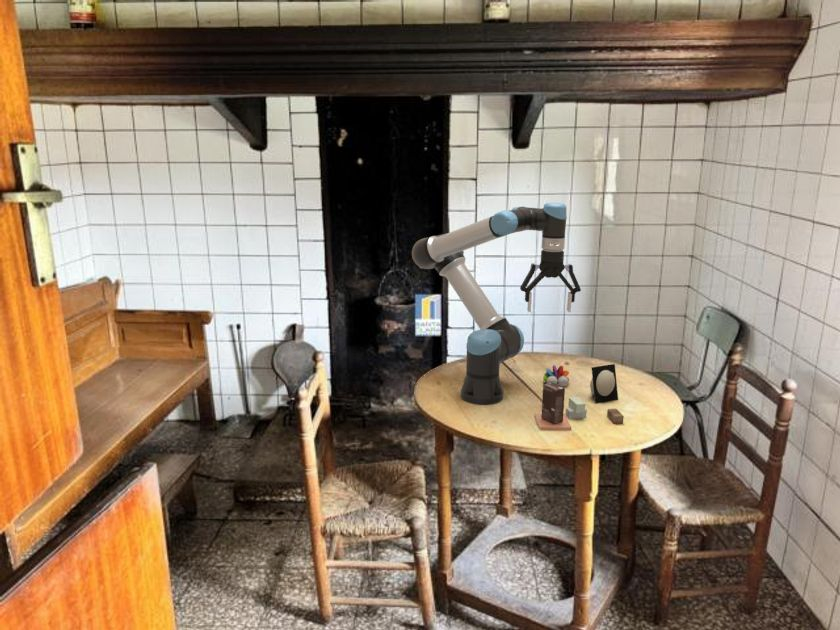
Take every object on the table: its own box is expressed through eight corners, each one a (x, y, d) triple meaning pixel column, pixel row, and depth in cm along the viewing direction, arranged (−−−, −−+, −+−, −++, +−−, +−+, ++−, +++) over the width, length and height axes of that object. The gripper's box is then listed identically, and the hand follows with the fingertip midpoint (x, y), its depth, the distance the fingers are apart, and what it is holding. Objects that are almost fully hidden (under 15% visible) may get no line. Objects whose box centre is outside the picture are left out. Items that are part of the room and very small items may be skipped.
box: (540, 418, 207) (542, 384, 204) (550, 415, 210) (552, 381, 206) (553, 425, 202) (555, 390, 199) (563, 422, 205) (566, 387, 201)
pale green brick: (584, 412, 208) (585, 403, 207) (576, 413, 208) (576, 404, 207) (576, 405, 214) (577, 396, 213) (568, 405, 213) (568, 397, 212)
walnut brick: (622, 424, 206) (623, 416, 205) (613, 424, 206) (614, 416, 205) (615, 416, 212) (616, 408, 211) (606, 417, 212) (607, 408, 211)
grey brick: (569, 419, 210) (569, 411, 209) (565, 416, 212) (565, 407, 212) (586, 418, 211) (586, 410, 210) (582, 414, 214) (582, 406, 213)
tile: (539, 429, 201) (539, 427, 201) (534, 416, 211) (534, 413, 211) (571, 430, 201) (571, 427, 201) (564, 417, 211) (564, 414, 211)
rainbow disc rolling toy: (571, 388, 236) (572, 369, 234) (544, 387, 237) (545, 369, 235) (566, 379, 244) (567, 362, 243) (541, 379, 245) (542, 361, 243)
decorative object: (582, 401, 229) (604, 398, 233) (600, 404, 219) (623, 400, 223) (578, 366, 229) (601, 363, 232) (596, 367, 219) (620, 364, 223)
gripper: (516, 251, 210) (514, 313, 216) (592, 252, 210) (587, 314, 215) (513, 247, 217) (511, 308, 223) (587, 248, 217) (582, 308, 223)
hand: (548, 311), depth 219 cm, fingers open, 13 cm apart
